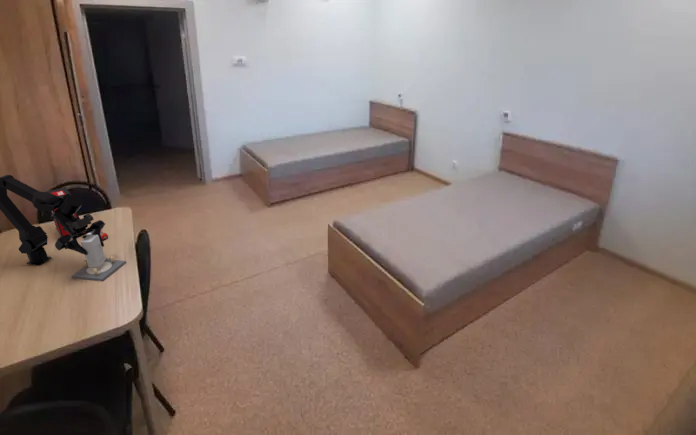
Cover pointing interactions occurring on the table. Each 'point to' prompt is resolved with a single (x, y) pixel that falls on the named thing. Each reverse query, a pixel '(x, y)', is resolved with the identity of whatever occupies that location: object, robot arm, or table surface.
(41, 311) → the table surface
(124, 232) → the table surface
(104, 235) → the race car
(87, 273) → the pin cradle
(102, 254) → the skincare box
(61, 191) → the cleaning product box
